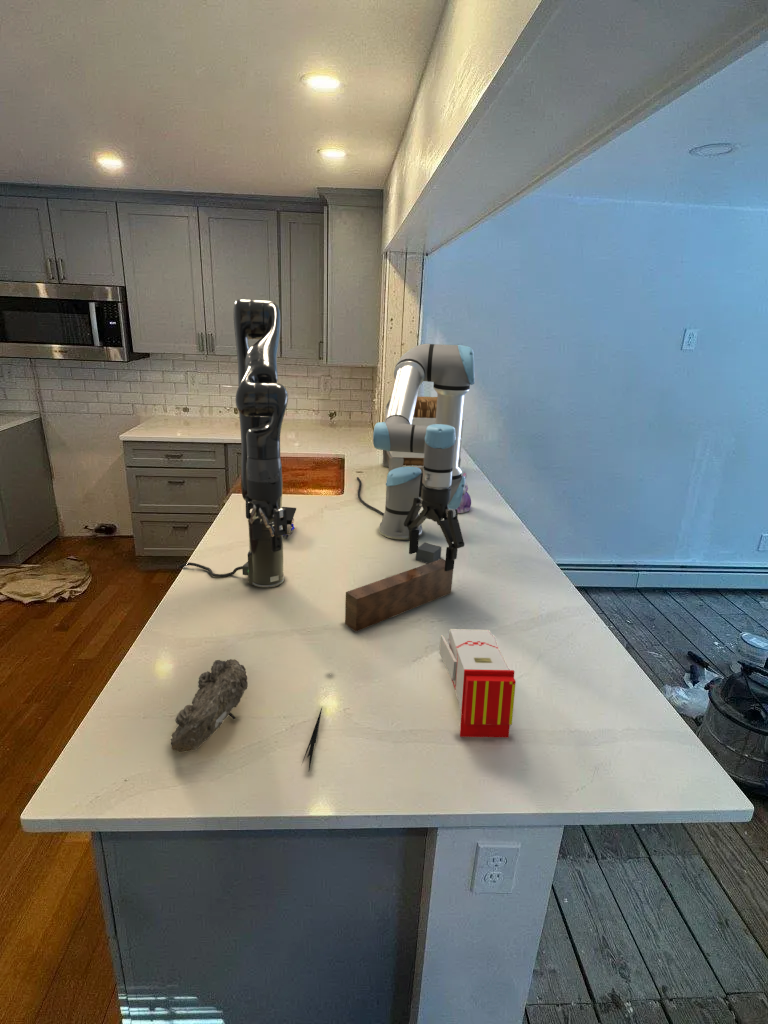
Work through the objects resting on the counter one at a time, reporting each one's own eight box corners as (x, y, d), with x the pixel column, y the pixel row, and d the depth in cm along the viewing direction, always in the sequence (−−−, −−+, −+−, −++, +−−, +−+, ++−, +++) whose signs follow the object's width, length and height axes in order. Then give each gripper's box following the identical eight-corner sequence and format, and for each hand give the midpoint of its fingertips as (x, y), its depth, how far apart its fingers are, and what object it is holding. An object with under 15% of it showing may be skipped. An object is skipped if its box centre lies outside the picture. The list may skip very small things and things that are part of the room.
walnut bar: (355, 631, 139) (356, 599, 136) (344, 624, 142) (345, 592, 139) (451, 593, 160) (453, 564, 157) (439, 587, 163) (442, 558, 160)
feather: (331, 679, 122) (336, 673, 122) (307, 777, 96) (313, 769, 95) (324, 675, 122) (329, 669, 121) (298, 772, 95) (304, 764, 95)
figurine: (457, 515, 220) (461, 478, 215) (443, 507, 229) (446, 471, 224) (477, 512, 224) (481, 475, 219) (462, 504, 233) (466, 469, 228)
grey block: (415, 560, 180) (416, 548, 178) (423, 553, 185) (424, 542, 183) (432, 564, 177) (433, 552, 176) (440, 558, 182) (441, 546, 181)
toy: (489, 613, 130) (525, 677, 101) (485, 667, 133) (518, 744, 104) (437, 612, 130) (457, 676, 101) (434, 666, 133) (453, 743, 103)
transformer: (381, 463, 289) (385, 382, 275) (444, 464, 292) (450, 384, 279) (389, 482, 257) (393, 392, 243) (459, 483, 261) (467, 394, 247)
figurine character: (292, 545, 190) (297, 524, 203) (291, 525, 186) (296, 505, 200) (271, 544, 189) (278, 523, 203) (270, 524, 186) (277, 504, 199)
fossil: (195, 660, 117) (247, 628, 112) (227, 691, 120) (279, 661, 115) (146, 746, 98) (206, 711, 93) (185, 779, 101) (245, 748, 96)
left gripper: (233, 470, 126) (236, 538, 131) (265, 487, 116) (267, 559, 121) (263, 466, 131) (265, 531, 136) (296, 481, 121) (297, 551, 126)
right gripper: (393, 476, 152) (389, 549, 159) (463, 500, 135) (455, 581, 142) (413, 472, 157) (409, 543, 164) (483, 495, 140) (475, 573, 146)
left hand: (266, 544), depth 129 cm, fingers open, 8 cm apart
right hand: (430, 561), depth 153 cm, fingers open, 13 cm apart
